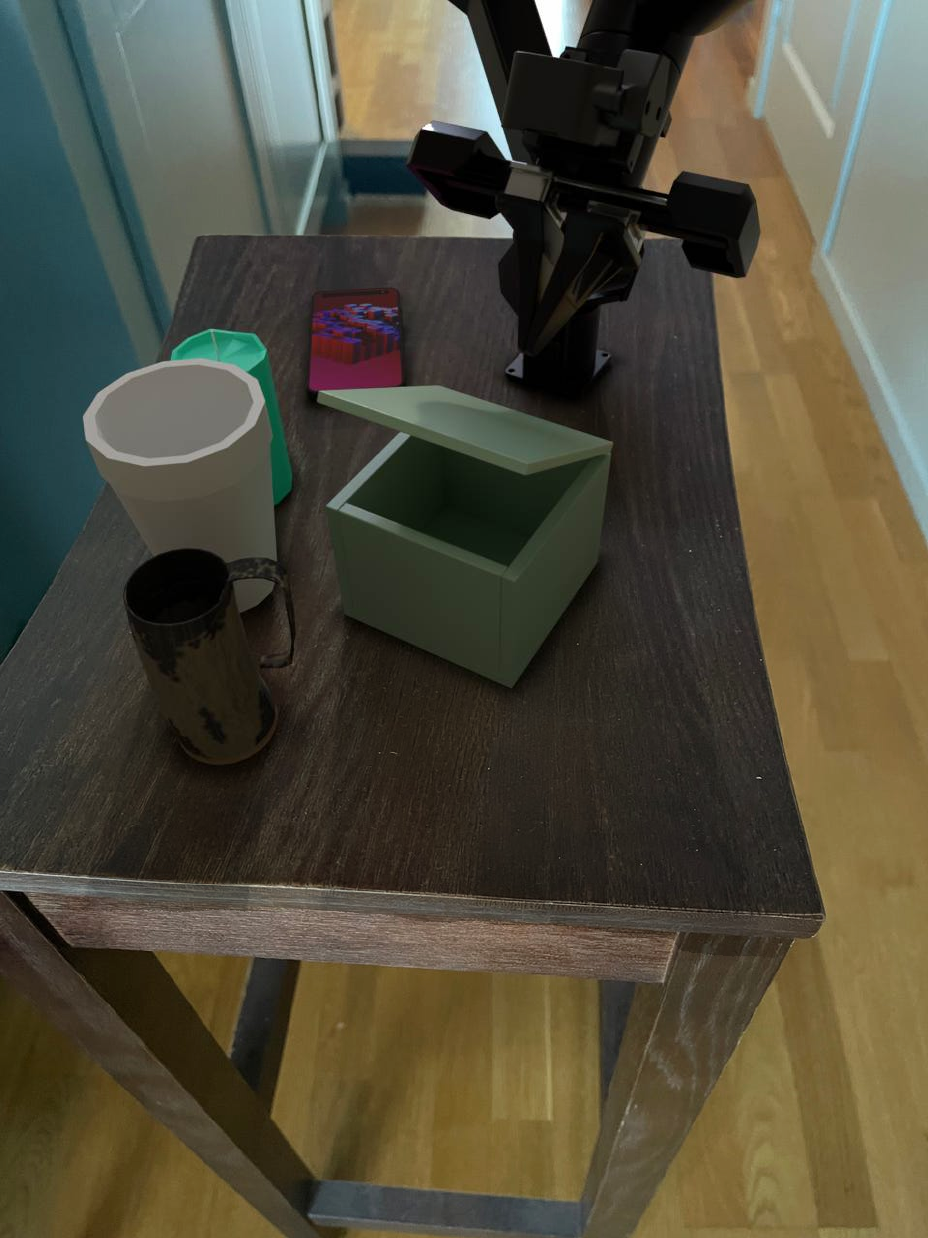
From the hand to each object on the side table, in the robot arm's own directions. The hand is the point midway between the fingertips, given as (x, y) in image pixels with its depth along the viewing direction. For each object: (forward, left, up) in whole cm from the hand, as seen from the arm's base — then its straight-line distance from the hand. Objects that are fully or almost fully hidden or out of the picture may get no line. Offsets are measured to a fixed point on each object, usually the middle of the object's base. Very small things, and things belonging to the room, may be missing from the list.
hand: (526, 353), depth 50 cm
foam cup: (+13, -14, -14) cm, 23 cm away
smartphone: (-13, -22, -14) cm, 29 cm away
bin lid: (+5, 0, -2) cm, 6 cm away
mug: (+21, -6, -14) cm, 26 cm away
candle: (+5, -19, -14) cm, 24 cm away
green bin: (+6, 0, -14) cm, 15 cm away
